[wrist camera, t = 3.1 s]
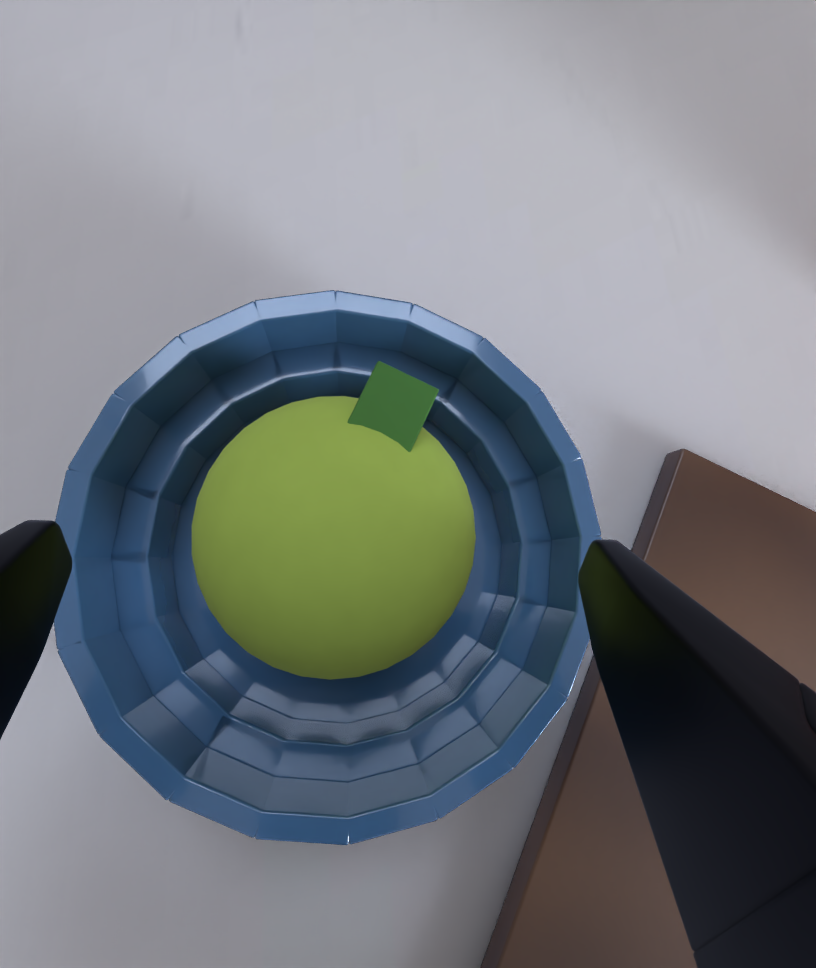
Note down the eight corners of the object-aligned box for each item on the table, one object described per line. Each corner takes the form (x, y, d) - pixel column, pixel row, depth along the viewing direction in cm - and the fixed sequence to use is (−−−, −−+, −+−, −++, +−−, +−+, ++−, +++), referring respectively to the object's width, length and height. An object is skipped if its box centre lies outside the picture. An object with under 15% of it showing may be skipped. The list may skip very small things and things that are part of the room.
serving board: (908, 1344, 16) (946, 1397, 15) (416, 1139, 15) (421, 1179, 14) (1047, 637, 20) (1084, 640, 19) (665, 453, 19) (683, 446, 18)
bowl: (444, 838, 16) (481, 939, 12) (45, 661, 16) (-72, 697, 11) (593, 458, 19) (669, 425, 14) (251, 295, 18) (221, 208, 14)
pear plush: (390, 685, 16) (473, 911, 6) (205, 601, 16) (-76, 669, 5) (468, 504, 17) (661, 405, 7) (297, 423, 17) (215, 188, 7)
